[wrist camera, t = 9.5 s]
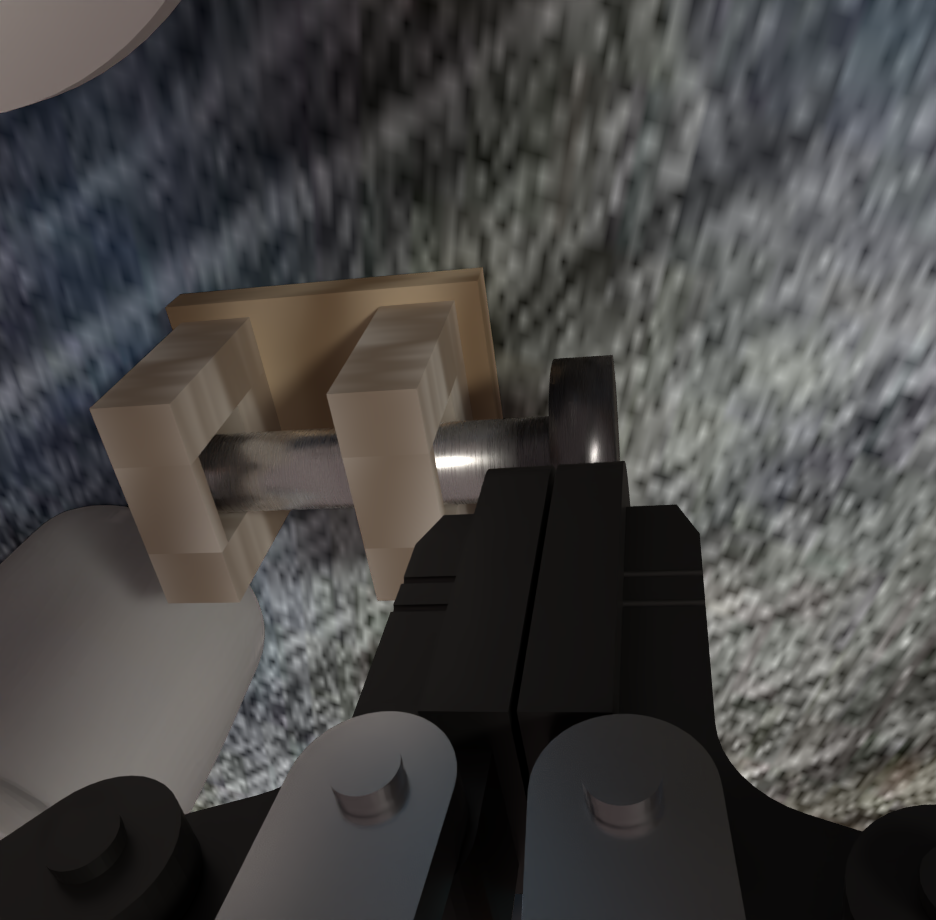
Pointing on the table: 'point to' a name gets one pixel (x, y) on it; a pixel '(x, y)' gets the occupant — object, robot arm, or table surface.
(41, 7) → the ribbed cylinder on disc
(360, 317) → the block
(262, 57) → the table surface
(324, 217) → the table surface
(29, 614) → the utensil holder
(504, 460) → the shaft
